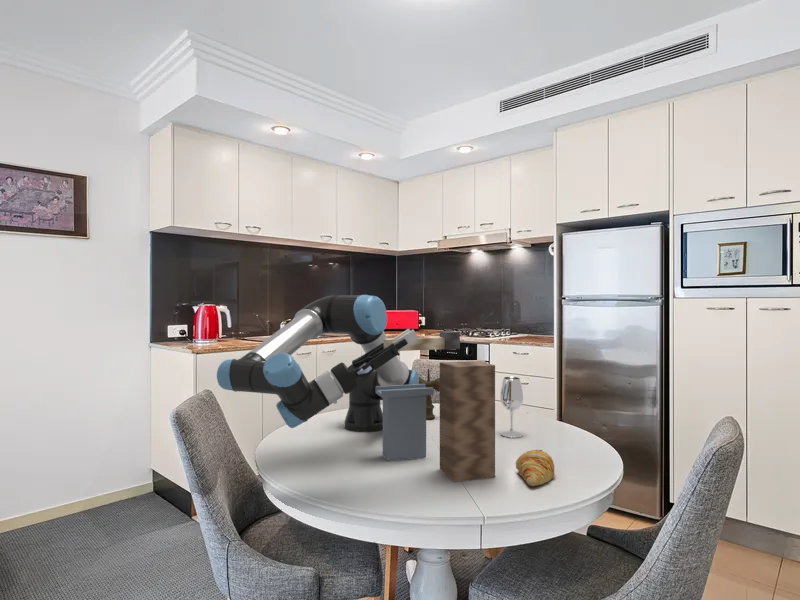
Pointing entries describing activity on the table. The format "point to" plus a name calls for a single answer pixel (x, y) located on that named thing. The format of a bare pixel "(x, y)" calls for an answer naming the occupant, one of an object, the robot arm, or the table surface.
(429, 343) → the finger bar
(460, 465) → the walnut stand
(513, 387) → the wineglass
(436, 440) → the table surface
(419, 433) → the rail stand
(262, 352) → the robot arm
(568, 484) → the table surface
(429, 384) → the kendama
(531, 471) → the croissant
